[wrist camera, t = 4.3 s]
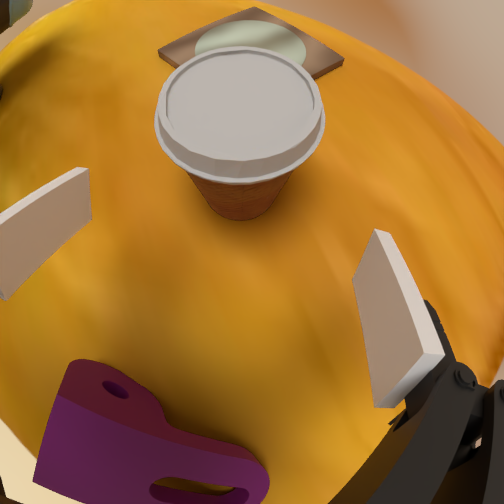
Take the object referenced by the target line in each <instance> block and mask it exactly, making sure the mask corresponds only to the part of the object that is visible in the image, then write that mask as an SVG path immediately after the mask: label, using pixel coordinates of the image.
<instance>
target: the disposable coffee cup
mask: <svg viewBox="0 0 504 504" xmlns="http://www.w3.org/2000/svg"><path fill="white" fill-rule="evenodd" d="M154 127H155V131H156V136H157V139H158V141H159V143H160V145H161V147H162V149H163V151H164V152H165V153H166V154H167V155H168V156H169V157H170V158H171V159H172V160H173V162H174V163H175V164H176V165H178V166H179V167H181V168H182V169H184V170H185V171H186V172H187V173H188V175H189V176H190V178H191V179H192V180H193V182H194V183H195V185H196V186H197V188H198V189H199V190H200V192H201V193H202V195H203V196H204V198H205V199H206V200H207V202H208V204H209V205H210V207H211V208H212V209H213V210H214V211H215V212H216V213H218V214H219V215H221V216H223V217H225V218H228V219H232V220H240V221H243V220H248V219H253V218H255V217H258V216H259V215H261V214H262V213H264V212H265V211H266V210H267V209H268V208H269V207H270V206H271V204H272V203H273V201H274V199H275V198H276V196H277V195H278V193H279V192H280V190H281V188H282V187H283V185H284V184H285V182H286V181H287V179H288V178H289V176H290V175H291V173H292V172H293V170H294V169H296V168H297V167H298V166H299V165H301V164H302V163H303V162H304V161H305V160H306V159H307V158H309V157H310V156H311V154H312V153H313V152H314V150H315V149H316V147H317V146H318V144H319V143H320V140H321V138H322V135H323V132H324V127H325V113H324V108H323V104H322V102H321V96H320V93H319V89H318V86H317V84H316V83H315V81H314V80H313V79H312V77H311V76H310V74H309V73H308V72H307V71H306V70H305V69H304V68H303V67H302V66H301V65H299V64H298V63H296V62H295V61H293V60H291V59H290V58H288V57H286V56H284V55H282V54H279V53H277V52H274V51H271V50H267V49H262V48H257V47H247V46H234V47H225V48H219V49H215V50H211V51H207V52H205V53H202V54H200V55H197V56H195V57H194V58H192V59H190V60H189V61H187V62H186V63H184V64H182V65H181V66H179V67H178V68H177V69H176V70H175V71H174V72H173V73H172V74H171V75H170V76H169V78H168V79H167V80H166V82H165V83H164V85H163V87H162V90H161V92H160V95H159V99H158V105H157V108H156V112H155V122H154Z"/></svg>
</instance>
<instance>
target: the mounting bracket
mask: <svg viewBox="0 0 504 504" xmlns="http://www.w3.org/2000/svg"><path fill="white" fill-rule="evenodd" d="M165 477H178V478H183V479H187V480H192V481H198V482H203V483H209V484H215V485H222V486H230V487H237V488H236V489H234V490H233V491H232V492H230V493H228V494H225V495H219V496H215V495H207V494H201V493H194V492H189V491H183V490H178V489H173V488H169V487H164V486H160V485H156V484H154V483H153V482H155V481H156V480H158V479H161V478H165ZM33 482H34V483H37V484H38V485H41V486H43V487H45V488H47V489H49V490H52V491H54V492H56V493H59V494H61V495H63V496H66V497H68V498H71V499H74V500H77V501H79V502H82V503H85V504H260V503H261V502H262V500H263V499H264V498H265V496H266V494H267V492H268V489H269V484H270V480H269V476H268V473H267V472H266V470H265V469H264V468H263V467H262V465H261V464H260V463H259V462H258V460H257V459H256V458H255V457H254V455H253V454H252V453H251V452H250V451H248V450H247V449H245V448H243V447H241V446H238V445H235V444H231V443H227V442H222V441H218V440H214V439H210V438H207V437H203V436H199V435H196V434H192V433H189V432H186V431H182V430H179V429H176V428H174V427H172V426H171V425H169V424H168V423H167V421H166V419H165V416H164V412H163V409H162V407H161V405H160V403H159V402H158V400H157V399H156V398H155V397H154V395H153V394H152V393H151V392H149V391H148V390H147V389H146V388H145V387H143V386H141V385H140V384H138V383H137V382H135V381H134V380H132V379H131V378H129V377H128V376H126V375H125V374H123V373H122V372H120V371H118V370H116V369H114V368H112V367H110V366H107V365H105V364H102V363H99V362H96V361H92V360H86V359H78V360H74V361H72V362H71V363H70V364H69V365H68V368H67V370H66V373H65V375H64V378H63V380H62V383H61V385H60V388H59V390H58V393H57V396H56V399H55V402H54V404H53V407H52V410H51V414H50V417H49V420H48V423H47V426H46V430H45V433H44V437H43V440H42V444H41V447H40V451H39V455H38V459H37V463H36V468H35V472H34V477H33Z"/></svg>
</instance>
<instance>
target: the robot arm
mask: <svg viewBox="0 0 504 504" xmlns="http://www.w3.org/2000/svg"><path fill="white" fill-rule="evenodd" d="M32 3H33V0H0V34H1V33H2V32H4V31H5V30H6V29H8V28H9V27H12V26H13V24H14V23H15V22H16V21H17V20H19V19H20V18H22V17H23V16H24V15H26V14H27V12H28V11H30V9H31V7H32ZM2 90H3V88H2V85H1V84H0V98H1V95H2ZM91 220H92V214H91V201H90V184H89V169H88V168H81V167H77V168H75V169H73V170H71V171H69V172H67V173H65V174H63V175H62V176H60V177H58V178H56V179H54V180H53V181H51V182H49V183H48V184H46V185H44V186H42V187H41V188H39V189H37V190H36V191H34V192H32V193H31V194H29V195H28V196H26V197H24V198H23V199H21V200H20V201H18V202H17V203H15V204H14V205H12V206H11V207H9V208H8V209H6V210H5V211H3V212H2V213H0V298H1V299H3V300H5V301H7V300H8V299H9V298H10V297H11V295H12V294H13V293H14V292H15V291H16V290H17V289H18V288H19V287H20V286H21V285H22V284H23V283H24V282H25V281H26V280H27V279H28V278H29V277H30V276H31V275H32V274H33V273H34V272H35V271H36V270H37V269H38V268H39V267H40V266H41V265H42V264H43V263H44V262H45V261H46V260H47V259H48V258H49V257H50V256H51V255H52V254H53V253H54V252H56V251H57V250H58V249H59V248H60V247H61V246H62V245H63V244H64V243H65V242H67V241H68V240H69V239H70V238H71V237H72V236H73V235H75V234H76V233H77V232H78V231H79V230H80V229H81V228H83V227H84V226H85V225H86V224H87V223H89V222H90V221H91ZM352 282H353V286H354V291H355V295H356V300H357V305H358V310H359V315H360V320H361V325H362V330H363V336H364V341H365V347H366V353H367V359H368V365H369V372H370V379H371V386H372V394H373V402H374V407H379V408H395V407H396V406H397V405H398V404H399V403H400V402H401V401H402V400H403V399H404V398H405V403H406V408H405V409H404V410H403V411H402V412H401V413H400V414H399V415H397V416H396V417H395V418H394V419H393V420H392V421H391V422H389V423H388V424H389V425H390V426H391V425H392V424H393V423H394V424H393V425H392V427H391V428H390V430H389V431H388V432H387V434H386V435H385V437H384V438H383V439H382V441H381V442H380V443H379V445H378V446H377V447H376V449H375V450H374V451H373V453H372V454H371V455H370V456H369V458H368V459H367V460H366V462H365V463H364V464H363V465H362V466H361V468H360V469H359V470H358V471H357V472H356V474H355V475H354V476H353V477H352V478H351V479H350V480H349V482H348V483H347V484H346V485H345V486H344V487H343V488H342V489H341V490H340V491H339V493H338V494H337V495H336V496H335V497H334V498H333V499H332V500H331V501H330V502H329V503H328V504H504V380H498V381H497V382H496V383H495V384H494V385H493V386H492V387H491V388H490V389H489V388H487V387H484V386H481V385H479V384H478V382H477V379H476V376H475V375H474V373H473V371H472V370H471V369H470V368H469V367H468V366H466V365H465V364H463V363H460V362H456V359H455V356H454V354H453V351H452V348H451V346H450V343H449V341H448V338H447V336H446V334H445V332H444V329H443V326H442V324H440V319H439V317H438V315H437V313H436V311H435V309H434V308H433V307H432V306H431V305H430V303H429V302H428V301H427V300H423V299H422V297H421V294H420V292H419V290H418V288H417V286H416V284H415V281H414V279H413V277H412V275H411V273H410V271H409V269H408V267H407V265H406V263H405V261H404V259H403V257H402V255H401V253H400V251H399V249H398V248H397V246H396V244H395V242H394V240H393V238H392V236H391V235H390V233H388V232H385V231H381V230H378V229H374V230H373V233H372V235H371V238H370V240H369V242H368V245H367V247H366V250H365V252H364V254H363V256H362V259H361V261H360V263H359V266H358V268H357V270H356V272H355V274H354V277H353V279H352ZM481 437H482V439H481V445H480V446H479V447H477V448H475V443H476V441H477V440H478V439H480V438H481ZM0 504H22V503H20V502H17V501H14V500H12V499H9V498H7V497H6V495H5V491H4V487H3V484H2V480H1V477H0Z"/></svg>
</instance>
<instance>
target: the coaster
mask: <svg viewBox="0 0 504 504" xmlns="http://www.w3.org/2000/svg"><path fill="white" fill-rule="evenodd" d="M234 46H247V47H257V48H262V49H267V50H271V51H274V52H277V53H279V54H282V55H284V56H286V57H288V58H290V59H291V60H293V61H295V62H296V63H298V64H299V65H301V66H302V67H303V68H304V69H305V70H306V71H307V72H308V73H309V74H310V76H311V77H312V79H313V80H315V79H317V78H319V77H320V76H322V75H324V74H326V73H328V72H330V71H331V70H333V69H335V68H337V67H339V66H341V65H342V64H343V61H344V59H345V58H343V57H342V56H340V55H339V54H338V53H336V52H335V51H333V50H332V49H330V48H328V47H327V46H325V45H324V44H322V43H321V42H319V41H318V40H316V39H314V38H313V37H311V36H309V35H308V34H306V33H304V32H303V31H301V30H299V29H297V28H296V27H294V26H292V25H290V24H288V23H286V22H285V21H283V20H281V19H279V18H277V17H275V16H273V15H271V14H269V13H267V12H265V11H263V10H261V9H259V8H257V7H252V8H249V9H246V10H243V11H241V12H238V13H235V14H233V15H230V16H227V17H225V18H223V19H220V20H218V21H215V22H213V23H211V24H208V25H206V26H204V27H202V28H200V29H197V30H195V31H193V32H191V33H189V34H187V35H185V36H183V37H181V38H179V39H177V40H175V41H173V42H171V43H169V44H168V45H166V46H164V47H162V48H160V49H158V54H159V57H161V58H162V59H163V60H165V61H166V62H168V63H169V64H170V65H172V66H173V67H175V68H176V69H177V68H178V67H179V66H181V65H182V64H184V63H186V62H187V61H189V60H190V59H192V58H194V57H195V56H197V55H200V54H202V53H205V52H207V51H211V50H215V49H219V48H225V47H234Z"/></svg>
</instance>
